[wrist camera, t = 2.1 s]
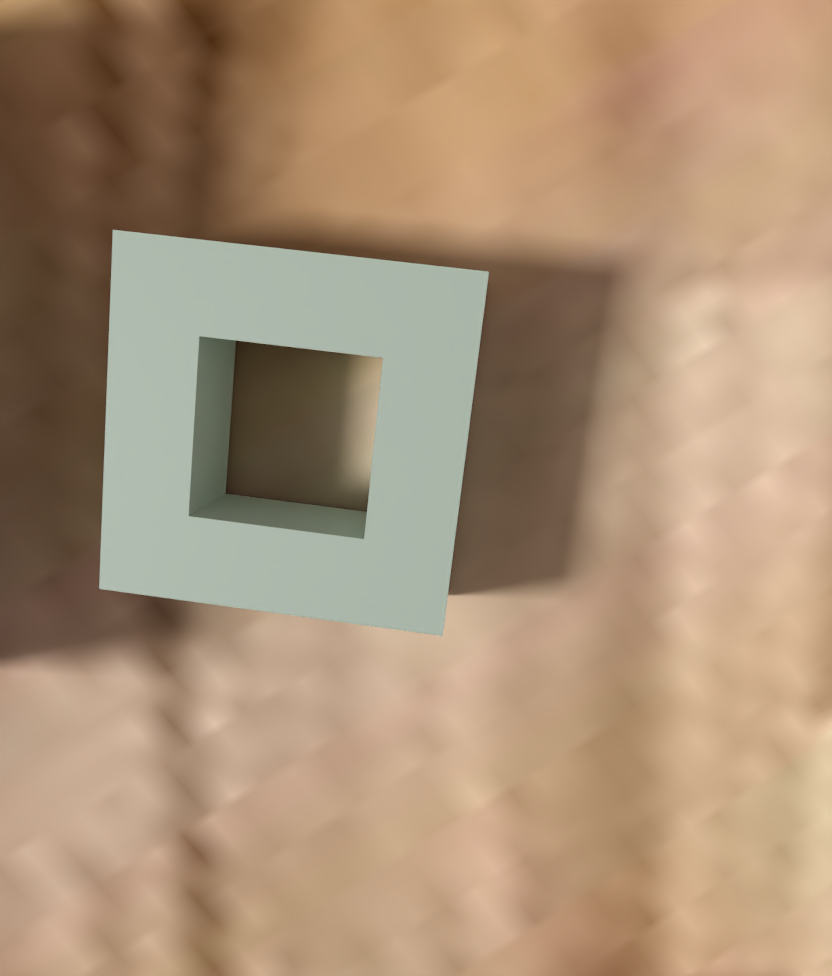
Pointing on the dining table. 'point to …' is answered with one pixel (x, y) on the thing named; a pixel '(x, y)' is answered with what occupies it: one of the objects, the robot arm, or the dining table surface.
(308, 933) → the dining table surface
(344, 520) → the block
